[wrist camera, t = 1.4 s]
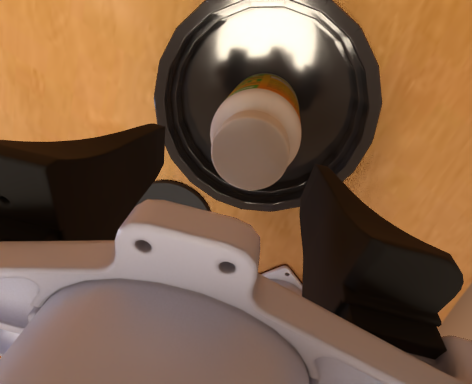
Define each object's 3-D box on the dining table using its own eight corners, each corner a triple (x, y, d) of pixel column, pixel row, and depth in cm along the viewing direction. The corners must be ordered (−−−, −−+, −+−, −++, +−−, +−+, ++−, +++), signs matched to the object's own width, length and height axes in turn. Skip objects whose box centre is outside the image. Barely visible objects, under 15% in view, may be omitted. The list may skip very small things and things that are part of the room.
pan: (403, 135, 22) (419, 150, 19) (241, 217, 28) (236, 237, 26) (301, -76, 17) (303, -95, 14) (132, 81, 23) (111, 88, 21)
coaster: (228, 228, 29) (227, 231, 29) (171, 256, 33) (169, 260, 32) (175, 165, 27) (173, 167, 26) (119, 203, 30) (116, 206, 30)
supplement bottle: (263, 55, 21) (246, 74, 12) (313, 108, 22) (328, 157, 14) (216, 109, 23) (176, 155, 15) (263, 153, 24) (250, 219, 16)
